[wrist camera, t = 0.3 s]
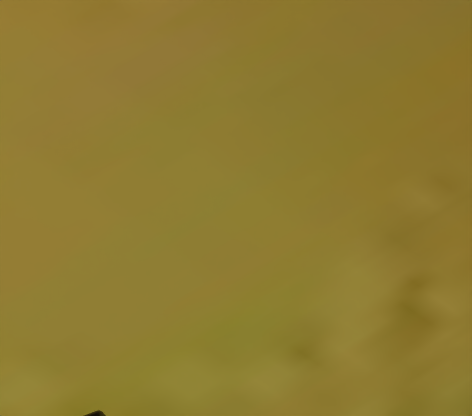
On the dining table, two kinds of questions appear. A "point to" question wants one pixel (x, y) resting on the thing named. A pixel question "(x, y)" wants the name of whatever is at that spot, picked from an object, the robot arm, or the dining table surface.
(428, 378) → the dining table surface
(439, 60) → the dining table surface
